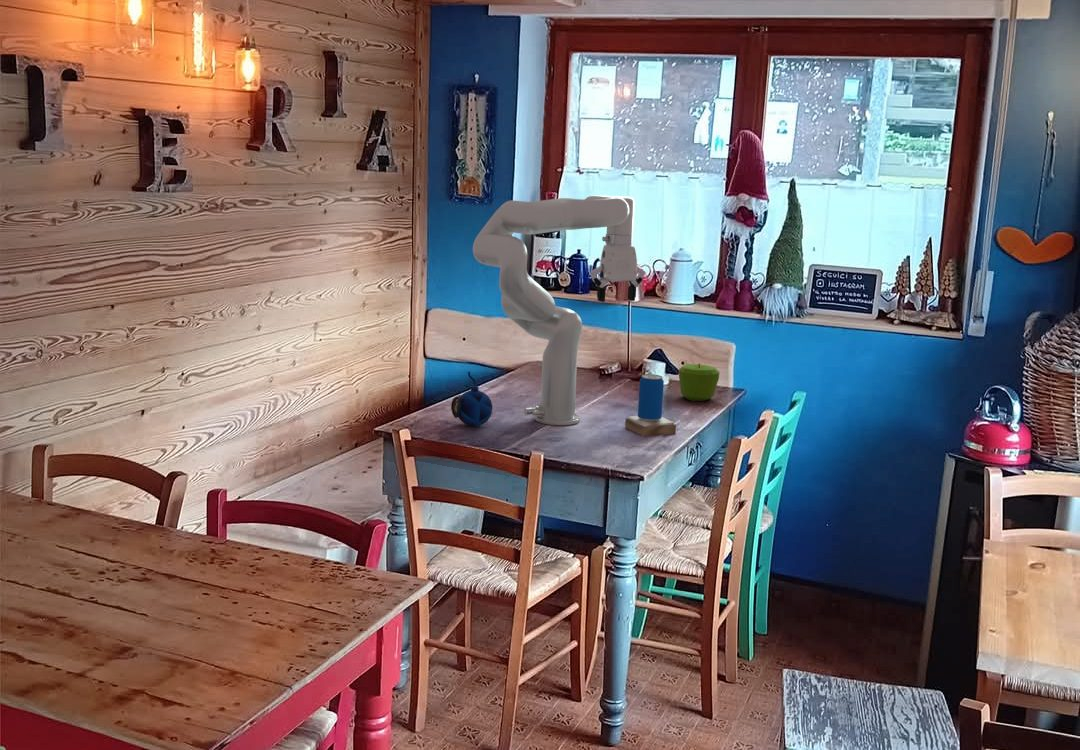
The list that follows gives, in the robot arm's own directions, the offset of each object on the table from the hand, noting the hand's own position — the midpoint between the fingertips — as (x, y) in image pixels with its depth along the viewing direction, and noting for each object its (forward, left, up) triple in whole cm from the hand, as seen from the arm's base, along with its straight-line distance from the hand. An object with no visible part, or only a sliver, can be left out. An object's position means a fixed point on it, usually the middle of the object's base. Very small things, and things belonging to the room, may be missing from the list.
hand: (616, 300), depth 311 cm
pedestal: (0, -23, -32) cm, 40 cm away
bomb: (-45, -5, -32) cm, 56 cm away
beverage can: (0, -23, -30) cm, 37 cm away
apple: (+34, +7, -32) cm, 48 cm away
